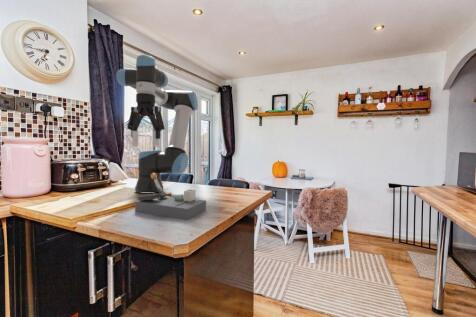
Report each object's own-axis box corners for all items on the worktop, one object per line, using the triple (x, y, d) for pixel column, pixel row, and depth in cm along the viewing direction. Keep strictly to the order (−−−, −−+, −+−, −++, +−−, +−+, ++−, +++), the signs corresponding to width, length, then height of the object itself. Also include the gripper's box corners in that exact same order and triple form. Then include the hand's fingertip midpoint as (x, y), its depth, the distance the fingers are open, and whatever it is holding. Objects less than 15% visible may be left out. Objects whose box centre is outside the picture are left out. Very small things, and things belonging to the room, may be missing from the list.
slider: (189, 198, 100) (189, 188, 100) (195, 199, 99) (195, 189, 99) (183, 200, 97) (183, 190, 96) (190, 201, 96) (190, 191, 95)
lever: (163, 197, 102) (152, 174, 103) (167, 195, 101) (156, 171, 102) (159, 199, 99) (148, 174, 101) (163, 196, 98) (152, 172, 100)
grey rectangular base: (158, 203, 107) (158, 190, 107) (205, 210, 99) (206, 195, 99) (135, 211, 94) (135, 196, 94) (187, 219, 86) (187, 203, 86)
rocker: (147, 198, 99) (146, 194, 99) (160, 197, 97) (160, 192, 97) (138, 200, 95) (137, 196, 95) (152, 199, 92) (152, 195, 92)
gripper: (117, 93, 101) (117, 145, 102) (162, 90, 93) (161, 147, 95) (131, 96, 108) (131, 145, 110) (173, 94, 100) (173, 147, 102)
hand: (145, 146), depth 102 cm, fingers open, 10 cm apart
